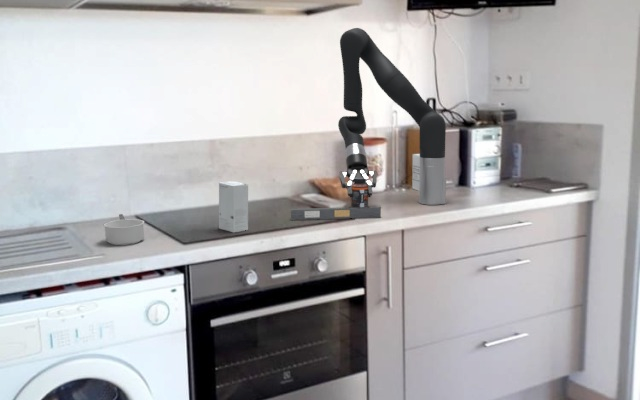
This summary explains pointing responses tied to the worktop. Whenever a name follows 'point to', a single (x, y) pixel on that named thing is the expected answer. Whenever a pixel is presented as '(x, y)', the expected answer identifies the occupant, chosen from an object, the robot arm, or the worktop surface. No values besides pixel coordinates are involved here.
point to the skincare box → (233, 206)
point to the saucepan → (124, 231)
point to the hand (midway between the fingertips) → (360, 195)
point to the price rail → (335, 213)
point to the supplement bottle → (359, 193)
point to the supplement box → (415, 171)
